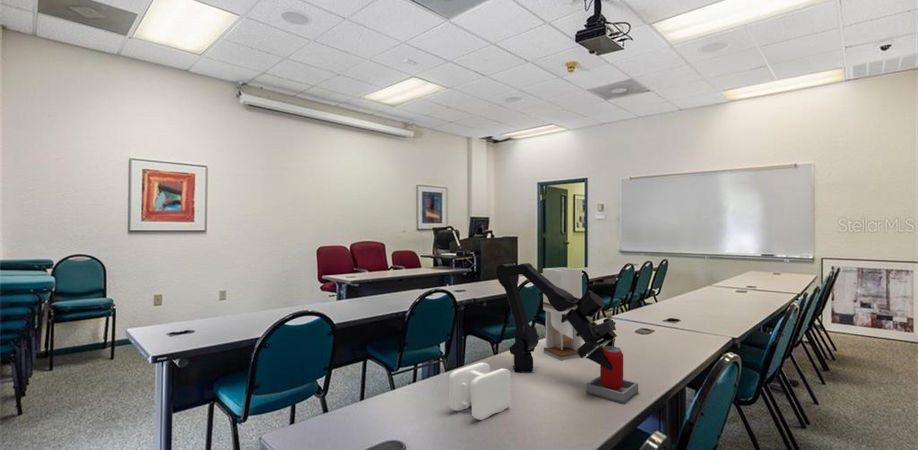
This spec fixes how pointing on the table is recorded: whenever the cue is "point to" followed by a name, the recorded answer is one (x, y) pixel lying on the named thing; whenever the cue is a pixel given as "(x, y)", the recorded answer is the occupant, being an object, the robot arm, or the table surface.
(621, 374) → the beverage can
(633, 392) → the coaster tray
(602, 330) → the robot arm
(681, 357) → the table surface
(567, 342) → the display case
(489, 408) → the cable organizer
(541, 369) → the table surface
